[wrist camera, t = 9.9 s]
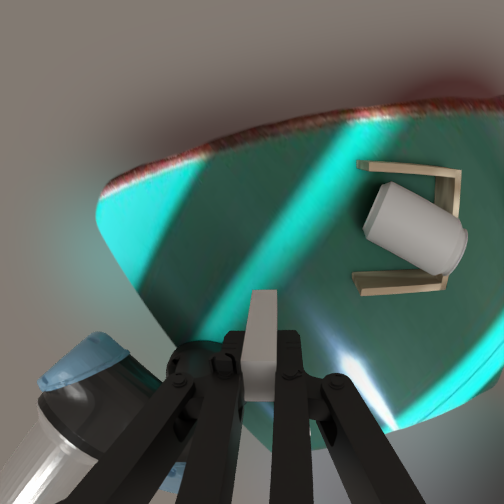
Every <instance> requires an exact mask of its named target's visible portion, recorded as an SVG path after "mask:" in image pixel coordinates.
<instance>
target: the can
mask: <svg viewBox="0 0 504 504" xmlns="http://www.w3.org/2000/svg"><path fill="white" fill-rule="evenodd" d="M362 230H364V233H365V237H366V239H367V240H369V241H371V242H373V243H375V244H377V245H379V246H381V247H382V248H384V249H386V250H388V251H390V252H392V253H393V254H395V255H397V256H399V257H401V258H403V259H404V260H406V261H408V262H410V263H411V264H413V265H415V266H417V267H419V268H420V269H422V270H424V271H425V272H427V273H429V274H431V275H438V274H441V273H442V275H443V276H447V275H449V274H451V272H452V271H453V270H454V269H455V268H456V266H457V265H458V263H459V262H460V260H461V258H462V256H463V253H464V251H465V248H466V245H467V240H468V233H467V230H466V229H463V228H462V225H461V222H460V219H458V218H457V217H455V216H453V215H452V214H450V213H448V212H447V211H445V210H443V209H442V208H440V207H438V206H437V205H435V204H433V203H431V202H430V201H428V200H426V199H424V198H422V197H421V196H419V195H417V194H415V193H413V192H411V191H409V190H408V189H406V188H404V187H402V186H400V185H398V184H396V183H394V182H392V181H391V182H389V183H386V184H382V185H381V188H380V190H379V192H378V194H377V197H376V199H375V201H374V204H373V206H372V208H371V210H370V213H369V215H368V217H367V219H366V222H365V224H364V226H363V229H362Z"/></svg>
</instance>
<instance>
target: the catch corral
mask: <svg viewBox="0 0 504 504" xmlns="http://www.w3.org/2000/svg"><path fill="white" fill-rule="evenodd" d="M357 168H358V169H362V170H366V171H377V172H396V173H411V174H423V175H434V176H436V183H435V201H434V204H435V205H437V206H438V207H440V208H442V209H443V210H445V211H447V212H448V213H450V214H452V215H453V216H455V217H457V218H458V213H459V202H460V188H461V170H457V169H451V168H446V167H440V166H431V165H421V164H411V163H398V162H384V161H364V160H357ZM448 276H449V275H447V276H443V275H442V273H441V274H438V275H431V274H429V273H427V272H425V271H424V270H422V269H411V270H390V271H366V272H352V280H353V282H354V284H355V285H356V287H357V289H358V291H359V293H360V295H361V296H369V295H385V294H399V293H412V292H424V291H435V290H445V289H446V285H447V281H448Z"/></svg>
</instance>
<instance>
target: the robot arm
mask: <svg viewBox="0 0 504 504" xmlns="http://www.w3.org/2000/svg"><path fill="white" fill-rule="evenodd" d="M37 384H38V386H39V388H40V390H41V391H42V392H43V393H42V395H41V396H40V397H39V398H38V400H37V402H36V404H37V409H38V414H39V419H38V420H37V421H36V423H35V424H34V425H33V426H32V428H31V429H30V430H29V432H28V433H27V435H26V436H25V437H24V439H23V440H22V441H21V443H20V444H19V445H18V447H17V448H16V450H15V451H14V452H13V454H12V455H11V457H10V458H9V460H8V461H7V462H6V464H5V465H4V467H3V468H2V470H1V471H0V504H149V502H150V501H151V499H152V498H153V496H154V495H155V493H156V492H157V490H158V489H160V490H164V491H167V492H172V493H176V494H178V495H177V499H176V502H175V504H231V501H232V494H233V488H234V480H235V473H236V466H237V459H238V451H239V444H240V436H241V429H242V422H243V414H244V405H245V404H246V402H247V401H259V402H274V422H273V445H272V465H271V484H270V499H269V504H314V501H313V477H312V476H313V475H312V457H311V440H310V425H309V419H313V420H316V423H317V425H318V427H319V430H320V432H321V434H322V437H323V439H324V441H325V444H326V446H327V448H328V451H329V453H330V455H331V458H332V460H333V462H334V465H335V467H336V469H337V471H338V474H339V476H340V478H341V480H342V483H343V485H344V488H345V490H346V492H347V494H348V497H349V499H350V501H351V503H352V504H426V503H425V501H424V500H423V498H422V496H421V494H420V493H419V491H418V489H417V488H416V486H415V484H414V482H413V481H412V479H411V477H410V476H409V474H408V472H407V471H406V469H405V468H404V466H403V464H402V463H401V461H400V459H399V457H398V456H397V454H396V452H395V451H394V449H393V447H392V446H391V444H390V443H389V441H388V439H387V438H386V436H385V434H384V433H383V431H382V429H381V428H380V426H379V424H378V423H377V421H376V420H375V418H374V416H373V415H372V413H371V411H370V410H369V408H368V407H367V405H366V403H365V402H364V400H363V399H362V397H361V395H360V394H359V392H358V390H357V389H356V387H355V386H354V384H353V382H352V381H351V379H350V378H349V377H348V376H346V375H344V374H340V373H331V374H329V375H326V376H325V377H324V378H323V379H321V378H316V377H312V376H310V375H309V374H307V373H306V372H305V370H304V368H303V361H302V351H301V341H300V335H299V334H298V333H297V331H296V330H277V290H252V296H251V302H250V308H249V314H248V320H247V326H246V331H229V332H228V333H227V334H226V335H225V337H224V341H223V344H220V343H216V342H211V341H193V342H188V343H185V344H183V345H181V346H180V347H178V348H177V349H176V350H175V351H174V352H173V354H172V355H171V357H170V360H169V362H168V364H167V369H166V379H165V381H164V382H161V381H160V380H159V379H158V378H157V377H155V376H154V375H153V374H152V373H151V372H150V371H148V370H147V369H146V368H145V367H144V366H142V365H141V364H140V363H139V362H138V361H137V360H136V359H135V358H134V357H132V356H131V355H130V352H129V351H128V350H126V349H123V348H122V347H121V346H120V345H119V344H118V343H117V342H116V341H114V340H113V339H112V338H111V337H110V336H109V335H107V334H106V333H103V332H94V333H91V334H90V335H89V336H88V337H86V338H85V339H84V340H82V341H81V342H80V343H79V344H78V345H77V346H75V347H74V348H73V349H72V350H71V351H70V352H69V353H67V354H66V355H65V356H64V357H63V358H62V359H60V360H59V361H58V362H57V363H56V364H55V365H54V366H52V367H51V368H50V369H49V370H48V371H47V372H46V373H45V374H43V375H42V376H41V377H40V378H39V379H38V380H37ZM94 464H95V465H94ZM92 465H94V466H93V468H92V469H91V470H90V471H89V472H88V473H87V471H88V470H89V469H90V468H91V467H92ZM86 473H87V475H86V476H85V477H84V475H85V474H86ZM83 477H84V478H83ZM82 478H83V479H82ZM81 479H82V481H81V482H80V483H79V481H80V480H81ZM78 483H79V484H78ZM77 484H78V485H77ZM76 485H77V487H76V488H75V486H76ZM74 488H75V489H74ZM73 489H74V490H73ZM72 490H73V491H72ZM71 491H72V492H71ZM69 494H70V495H69ZM68 495H69V496H68ZM67 496H68V497H67Z"/></svg>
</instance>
